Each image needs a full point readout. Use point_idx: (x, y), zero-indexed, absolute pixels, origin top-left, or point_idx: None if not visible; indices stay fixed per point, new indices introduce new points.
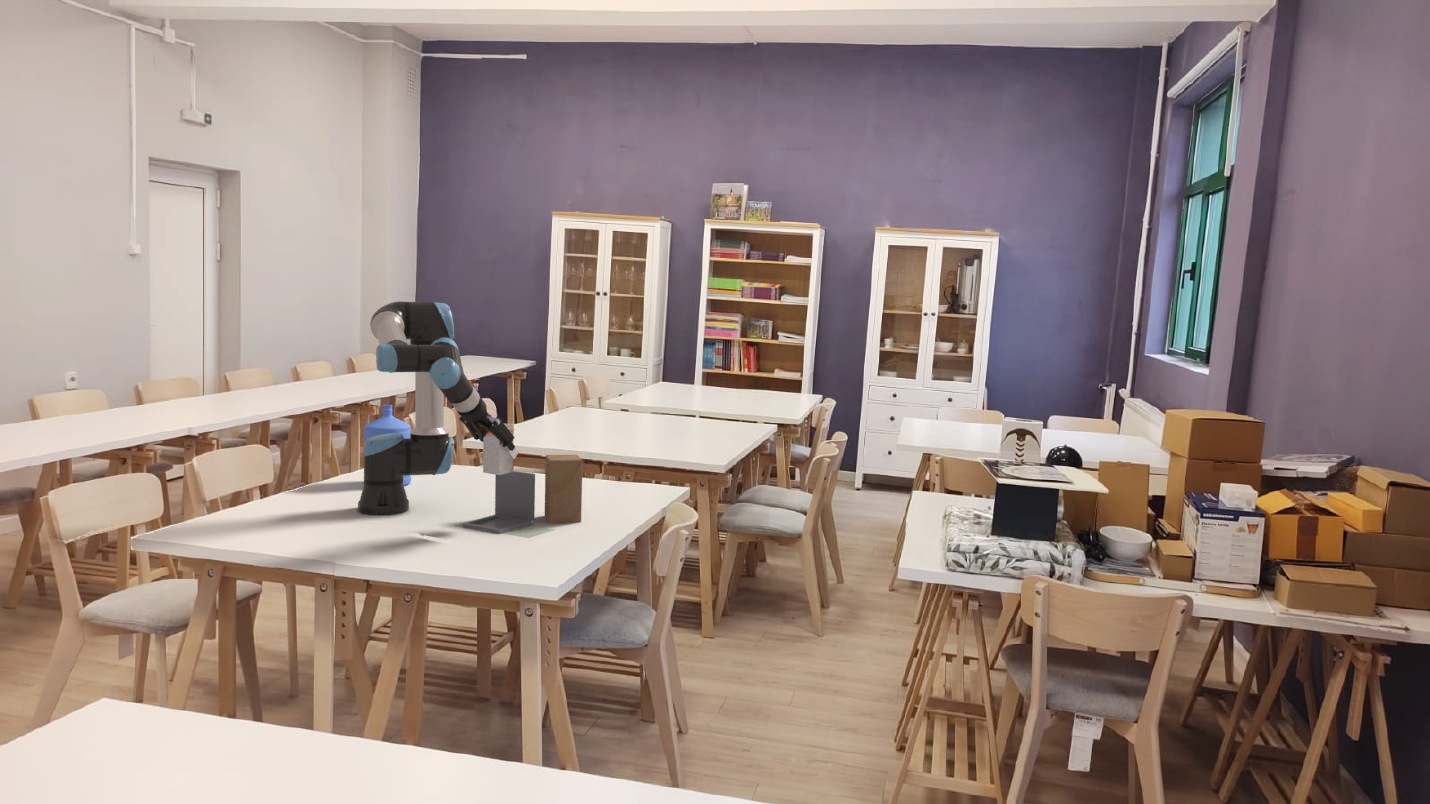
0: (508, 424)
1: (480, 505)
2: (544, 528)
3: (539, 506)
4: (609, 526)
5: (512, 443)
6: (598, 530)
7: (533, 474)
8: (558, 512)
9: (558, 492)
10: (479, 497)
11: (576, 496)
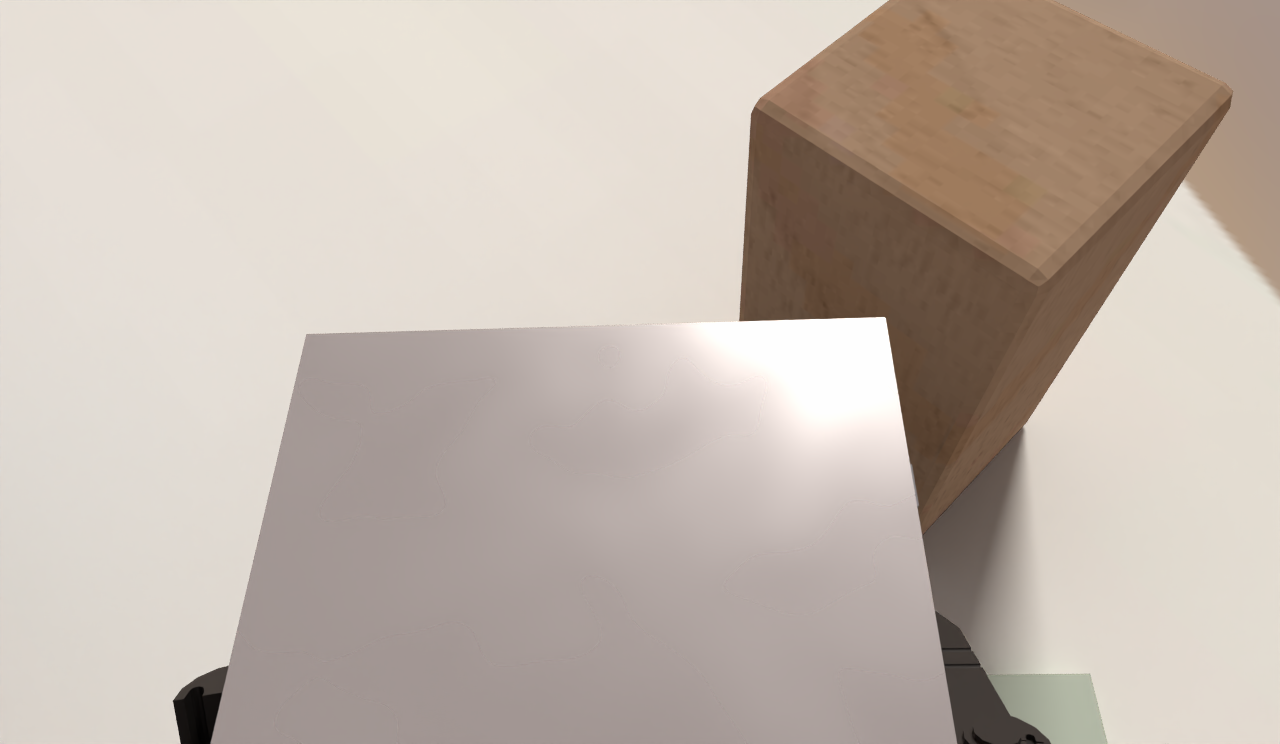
0: (779, 396)
1: (184, 393)
2: (1007, 695)
3: (503, 227)
4: (1161, 341)
5: (992, 692)
6: (1206, 451)
7: (915, 492)
8: (963, 478)
9: (1004, 408)
10: (82, 261)
11: (1077, 336)
